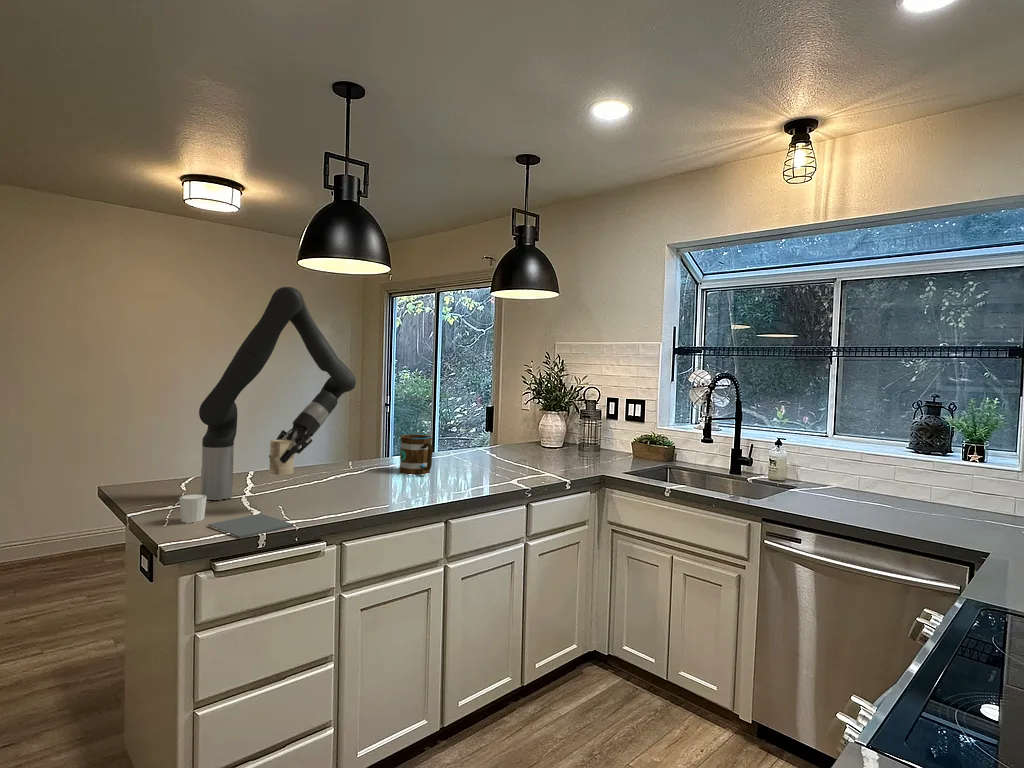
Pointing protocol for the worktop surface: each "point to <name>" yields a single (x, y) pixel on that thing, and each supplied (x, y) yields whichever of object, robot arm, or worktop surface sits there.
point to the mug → (415, 454)
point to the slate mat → (251, 525)
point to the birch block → (275, 453)
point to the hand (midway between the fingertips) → (276, 460)
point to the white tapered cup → (192, 507)
